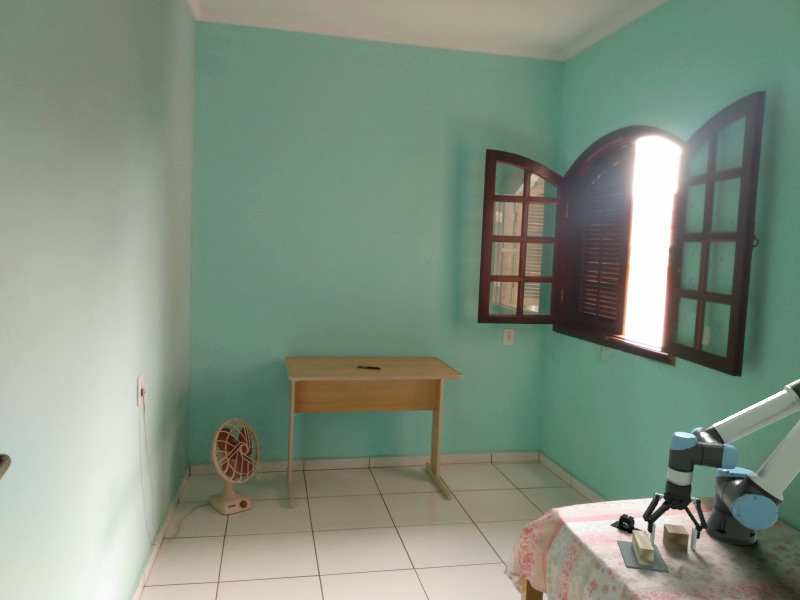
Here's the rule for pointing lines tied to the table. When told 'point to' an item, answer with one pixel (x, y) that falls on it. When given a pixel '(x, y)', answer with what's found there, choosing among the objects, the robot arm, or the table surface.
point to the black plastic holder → (625, 527)
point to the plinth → (642, 547)
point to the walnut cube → (675, 537)
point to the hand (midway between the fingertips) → (671, 544)
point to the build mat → (633, 562)
